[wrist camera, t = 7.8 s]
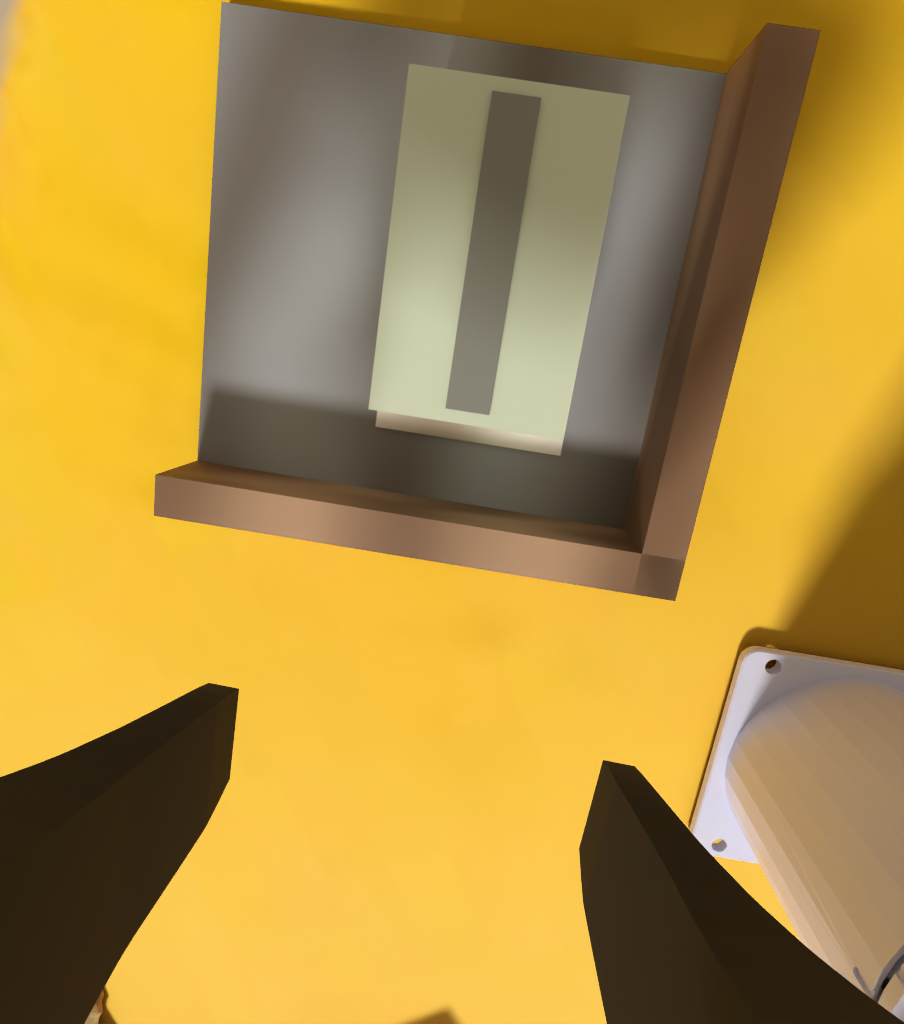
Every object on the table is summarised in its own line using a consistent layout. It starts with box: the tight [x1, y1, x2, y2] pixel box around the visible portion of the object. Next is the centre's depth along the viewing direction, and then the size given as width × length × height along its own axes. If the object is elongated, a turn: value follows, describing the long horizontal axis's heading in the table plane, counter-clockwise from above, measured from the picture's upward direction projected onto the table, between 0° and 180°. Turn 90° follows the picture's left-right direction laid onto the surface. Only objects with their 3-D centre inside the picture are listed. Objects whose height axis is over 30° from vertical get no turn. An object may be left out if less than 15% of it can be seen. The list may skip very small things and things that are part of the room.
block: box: [368, 64, 630, 440], centre depth 16 cm, size 7×4×5 cm, turn 171°
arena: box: [154, 2, 820, 601], centre depth 18 cm, size 15×14×3 cm
